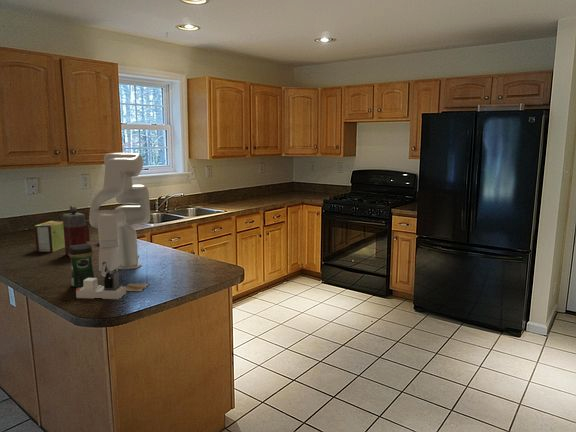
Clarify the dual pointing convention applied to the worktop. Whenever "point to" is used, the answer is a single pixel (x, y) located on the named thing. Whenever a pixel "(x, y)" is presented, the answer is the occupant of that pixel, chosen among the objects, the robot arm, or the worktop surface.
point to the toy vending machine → (75, 229)
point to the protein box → (49, 236)
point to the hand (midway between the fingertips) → (111, 285)
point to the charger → (115, 281)
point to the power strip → (98, 290)
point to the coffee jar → (80, 264)
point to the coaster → (135, 287)
